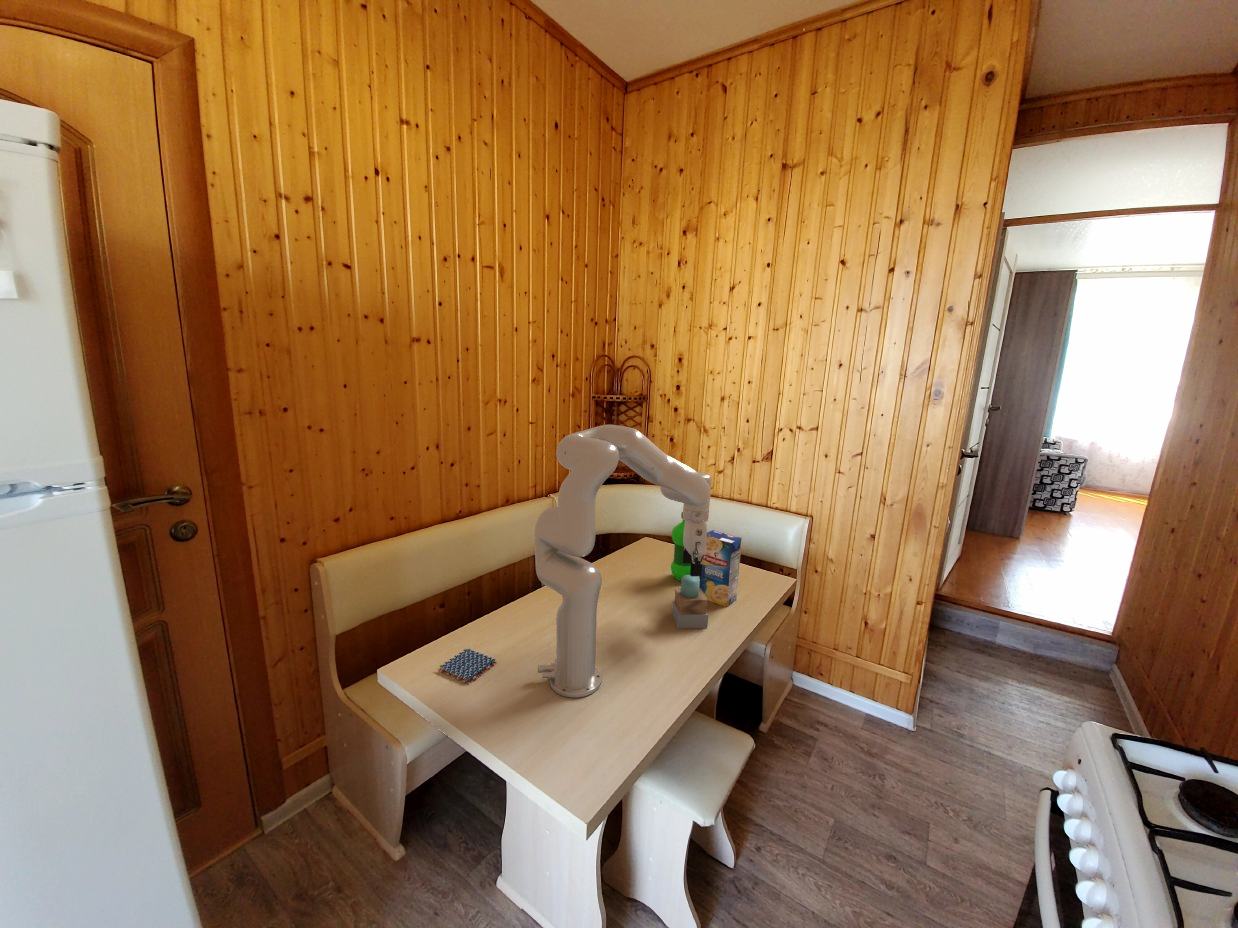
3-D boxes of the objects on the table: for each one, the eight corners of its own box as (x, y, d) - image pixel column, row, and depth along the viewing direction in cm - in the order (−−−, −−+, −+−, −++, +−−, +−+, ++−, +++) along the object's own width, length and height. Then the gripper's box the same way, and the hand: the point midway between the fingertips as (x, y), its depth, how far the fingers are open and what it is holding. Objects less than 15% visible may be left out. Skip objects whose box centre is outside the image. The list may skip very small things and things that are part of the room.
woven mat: (469, 687, 118) (468, 680, 118) (437, 673, 123) (437, 666, 123) (498, 665, 127) (498, 658, 127) (468, 652, 132) (468, 645, 132)
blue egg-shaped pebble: (682, 598, 147) (683, 582, 146) (678, 589, 152) (679, 574, 151) (700, 598, 148) (702, 582, 147) (695, 589, 153) (697, 574, 152)
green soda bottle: (664, 573, 185) (668, 509, 180) (690, 571, 188) (694, 508, 183) (675, 585, 175) (679, 518, 170) (702, 582, 178) (707, 516, 173)
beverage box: (726, 607, 161) (732, 543, 156) (697, 596, 168) (701, 534, 163) (736, 600, 166) (742, 537, 161) (708, 589, 173) (712, 530, 168)
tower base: (677, 629, 147) (678, 615, 146) (671, 614, 156) (672, 601, 155) (707, 628, 148) (708, 614, 147) (699, 613, 157) (700, 600, 156)
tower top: (680, 614, 147) (681, 600, 146) (674, 601, 155) (675, 588, 154) (706, 613, 148) (707, 599, 147) (699, 600, 155) (700, 587, 155)
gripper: (716, 523, 137) (711, 581, 140) (700, 506, 154) (696, 558, 157) (690, 523, 136) (685, 581, 139) (676, 506, 153) (673, 558, 156)
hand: (691, 569), depth 148 cm, fingers open, 9 cm apart
